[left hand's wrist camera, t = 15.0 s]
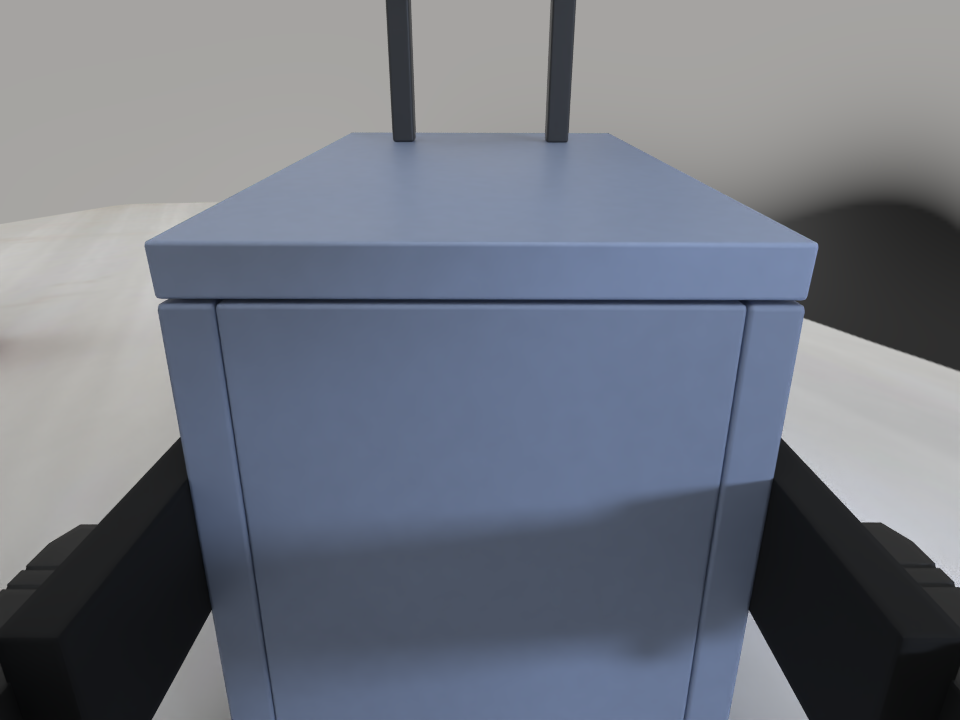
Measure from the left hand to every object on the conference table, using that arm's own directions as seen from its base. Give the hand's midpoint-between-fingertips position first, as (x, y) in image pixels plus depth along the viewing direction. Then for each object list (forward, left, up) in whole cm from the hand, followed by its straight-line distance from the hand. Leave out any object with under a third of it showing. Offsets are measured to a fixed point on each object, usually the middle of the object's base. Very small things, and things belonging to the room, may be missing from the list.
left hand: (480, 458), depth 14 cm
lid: (+2, -5, +5) cm, 7 cm away
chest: (+2, -4, -7) cm, 8 cm away
